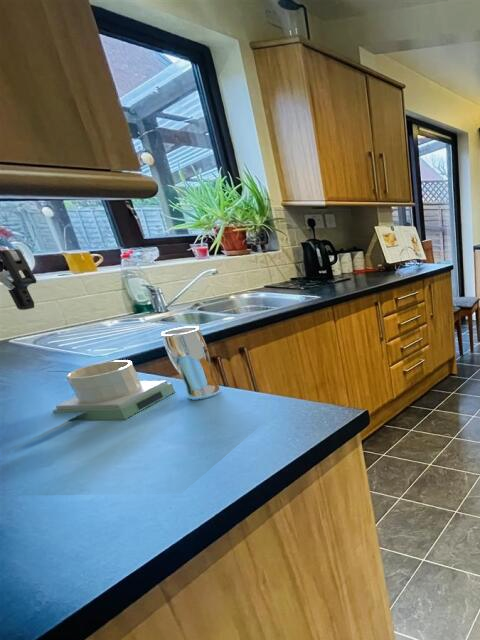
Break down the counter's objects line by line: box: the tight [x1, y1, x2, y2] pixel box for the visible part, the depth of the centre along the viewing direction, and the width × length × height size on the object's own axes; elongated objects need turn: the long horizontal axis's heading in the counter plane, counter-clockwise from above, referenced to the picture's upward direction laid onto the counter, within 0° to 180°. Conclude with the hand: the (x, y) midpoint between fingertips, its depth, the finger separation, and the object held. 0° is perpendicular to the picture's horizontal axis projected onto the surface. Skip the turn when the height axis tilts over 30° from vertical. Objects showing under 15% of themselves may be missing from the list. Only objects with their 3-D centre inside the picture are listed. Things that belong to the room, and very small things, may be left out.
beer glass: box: [160, 326, 221, 401], centre depth 88 cm, size 7×7×15 cm
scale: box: [52, 380, 176, 422], centre depth 86 cm, size 14×13×3 cm
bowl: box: [65, 359, 142, 403], centre depth 84 cm, size 10×10×6 cm
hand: (4, 309), depth 74 cm, fingers open, 8 cm apart
